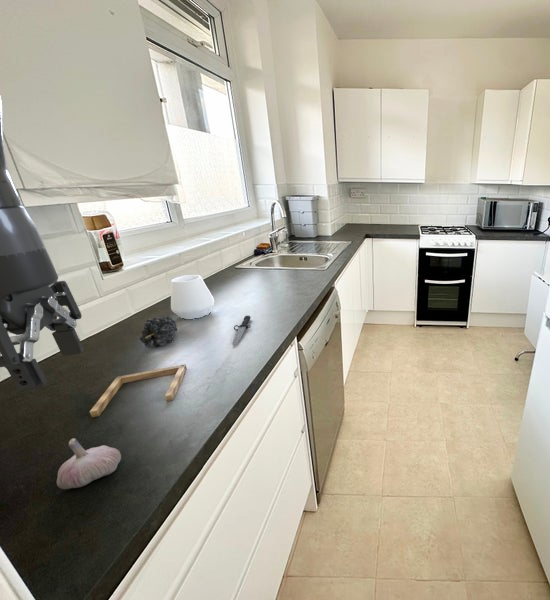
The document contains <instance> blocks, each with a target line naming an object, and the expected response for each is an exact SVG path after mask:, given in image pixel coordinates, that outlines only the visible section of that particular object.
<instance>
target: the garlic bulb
mask: <svg viewBox="0 0 550 600" xmlns="http://www.w3.org/2000/svg"><path fill="white" fill-rule="evenodd" d="M68 447H69V448H70V449H71V451H72V452H73V453H74V454H73V455H72V456H71V457H70V458H69V459H68V460H66V461H65V462H64V463H62V464H61V466H60V467H59V468H58V471H57V479H56V486H57V487H58V488H59V489H62V490H70V489H77V488H82V487H84V486H87V485H88V484H90V483H92V482H93V481H95V480H98V479H100V478H102V477H106V476H109V475H111V474H112V473H113V472H115V471H116V470H117V468H118V466H119V463H120V462H121V460H122V454H121V452H120V450H119V449H117V448H115V447H110V446H108V445H100V446H96V447H90V448H89V449H85V448H84V447H83V446H82V445H81V443H79V441H78V440H77V438H71V439H70V440H69V442H68Z"/></svg>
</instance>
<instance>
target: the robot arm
mask: <svg viewBox="0 0 550 600" xmlns="http://www.w3.org/2000/svg"><path fill="white" fill-rule="evenodd" d="M3 123H4V121H3V103H2V98H1V96H0V368H5V369H6V370H7V372H8V374H9V376H10V377H11V379H12V380H13V382H14V384H15V386H16V387H17V388H18V389H19V391H23V392H28V391H34V390H39V389H42V388H43V387H45V386H46V385H47V384H48V381H47V378H46V376H45V375H44V373H43V371H42V369H41V367H40V365H39V363H38V361H37V359H36V358H34V345H35V343H37V342H38V341H39V340H40V332H41V331H42V330H43V329H44V328H47V330H49V331H51V332H52V333H51V335H52V337H53V339H54V341H55V344H56V345H57V348H58V350H59V352H60V354H61V355H62V356H65V357H66V356H67V357H68V356H74V355H79V354H81V353H82V352H83V351H84V346H83V345H82V342H81V340H80V337H79V335H78V333H77V330H76V328H77V326H78V324H77V320H81V319H82V312H81V310H80V308H79V305H78V304H77V302H76V300H75V298H74V296H73V294H72V291H71V289H70V287H69V285H68V283H67V282H66V280H59V275H58V273H57V270H56V268H55V266H54V264H53V261H52V259H51V257H50V255H49V253H48V250H47V248H46V245H45V243H44V241H43V239H42V237H41V234H40V232H39V230H38V228H37V226H36V224H35V222H34V220H33V219H32V218H31V216H30V214H29V213H28V211H27V210H26V207H25V206H24V203H23V200H22V198H21V196H20V194H19V192H18V190H17V188H16V184H15V183H14V180H13V178H12V176H11V173H10V171H9V168H8V162H7V155H6V149H5V140H4V130H3V129H4V125H3ZM65 307H67V308H68V310H69V311H68V310H67V309H66V308H65ZM9 333H10V334H13V335H12V336H10V335H9ZM17 345H19V352H18V351H17V349H16V347H15V346H17Z"/></svg>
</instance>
